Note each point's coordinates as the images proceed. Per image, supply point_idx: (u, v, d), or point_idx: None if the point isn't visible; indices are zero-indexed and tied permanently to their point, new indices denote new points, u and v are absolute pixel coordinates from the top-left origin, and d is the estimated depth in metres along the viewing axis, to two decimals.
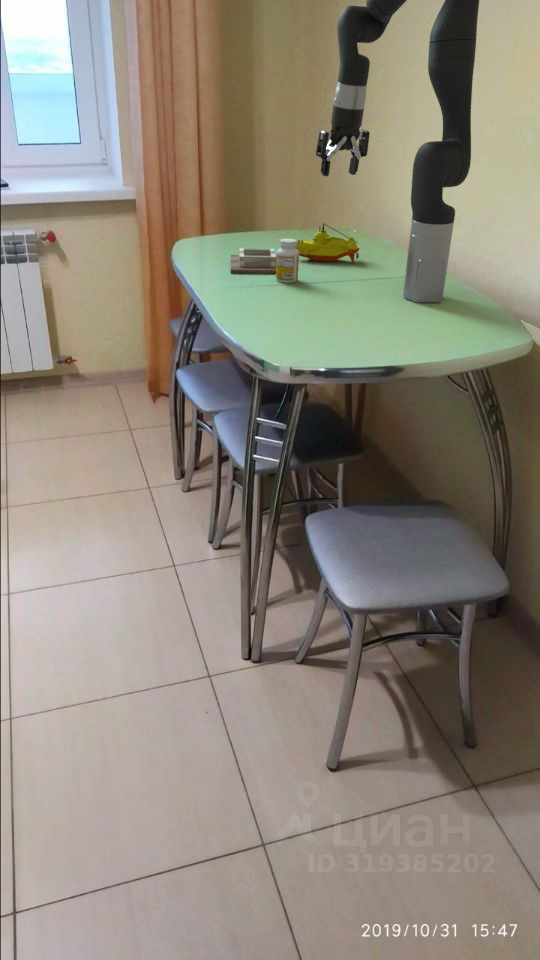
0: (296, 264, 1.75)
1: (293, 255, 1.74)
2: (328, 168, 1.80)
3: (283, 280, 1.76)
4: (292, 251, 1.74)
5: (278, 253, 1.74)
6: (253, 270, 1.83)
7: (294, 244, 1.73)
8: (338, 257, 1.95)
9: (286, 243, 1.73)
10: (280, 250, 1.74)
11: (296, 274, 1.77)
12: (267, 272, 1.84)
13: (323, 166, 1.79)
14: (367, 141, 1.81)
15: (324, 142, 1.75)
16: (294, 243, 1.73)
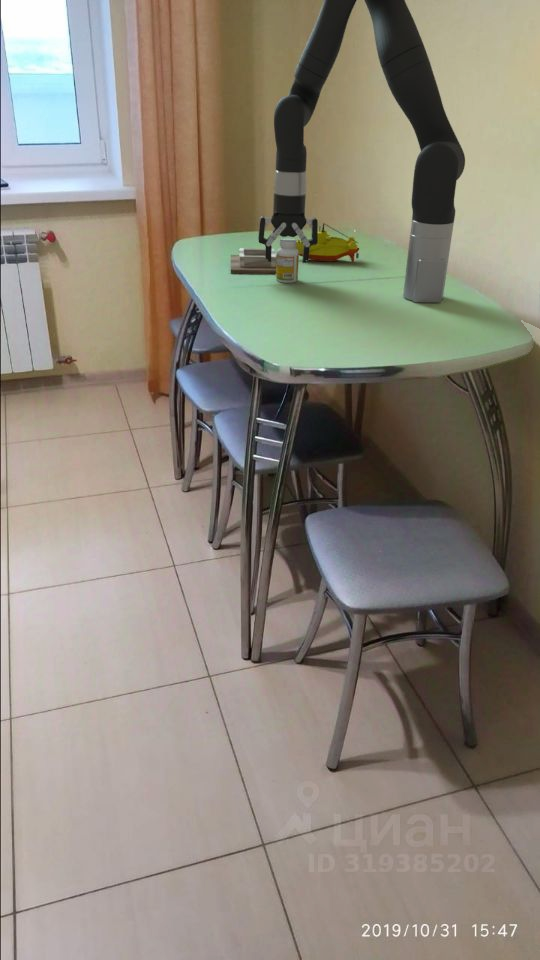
0: (296, 264, 1.75)
1: (293, 255, 1.74)
2: (269, 254, 1.75)
3: (283, 280, 1.76)
4: (292, 251, 1.74)
5: (278, 253, 1.74)
6: (253, 270, 1.83)
7: (294, 244, 1.73)
8: (338, 257, 1.95)
9: (286, 243, 1.73)
10: (280, 250, 1.74)
11: (296, 274, 1.77)
12: (267, 272, 1.84)
13: (265, 251, 1.75)
14: (315, 229, 1.72)
15: (260, 227, 1.71)
16: (294, 243, 1.73)
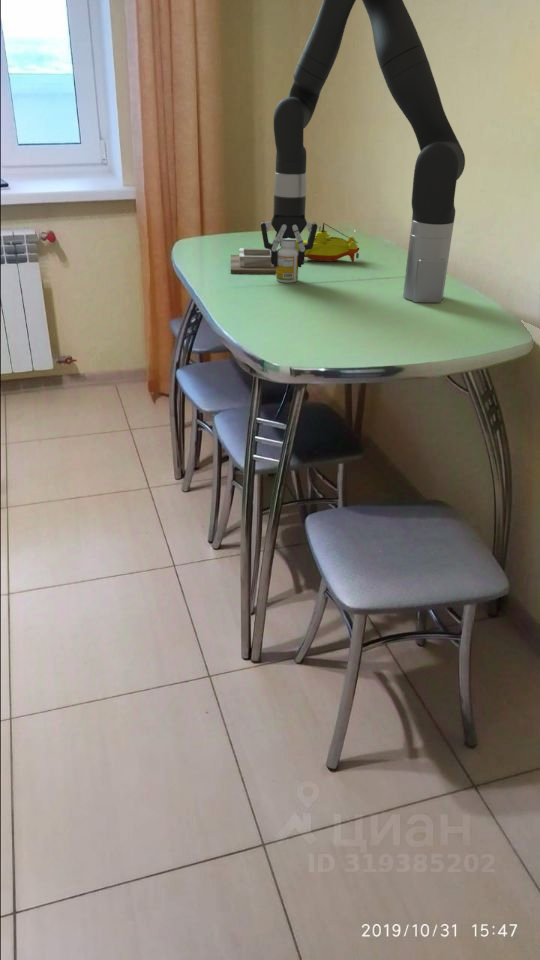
0: (296, 264, 1.75)
1: (293, 255, 1.74)
2: (275, 258, 1.75)
3: (283, 280, 1.76)
4: (292, 251, 1.74)
5: (278, 253, 1.74)
6: (253, 270, 1.83)
7: (294, 244, 1.73)
8: (338, 257, 1.95)
9: (286, 243, 1.73)
10: (280, 250, 1.74)
11: (296, 274, 1.77)
12: (267, 272, 1.84)
13: (271, 256, 1.76)
14: (313, 234, 1.72)
15: (263, 233, 1.72)
16: (294, 243, 1.73)
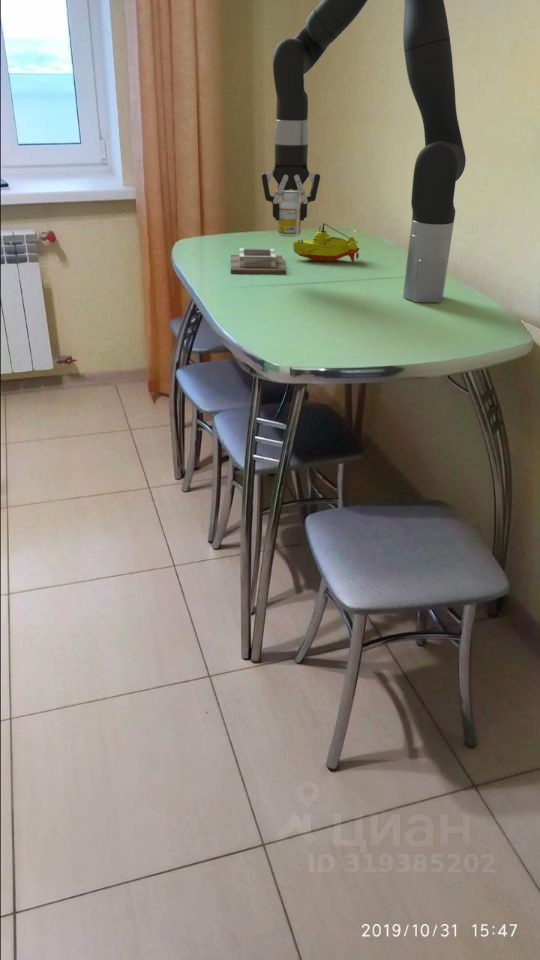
0: (298, 217, 1.70)
1: (295, 207, 1.68)
2: (277, 211, 1.70)
3: (285, 234, 1.71)
4: (294, 203, 1.68)
5: (280, 206, 1.69)
6: (253, 270, 1.83)
7: (296, 196, 1.68)
8: (338, 257, 1.95)
9: (288, 195, 1.67)
10: (282, 202, 1.69)
11: (299, 228, 1.71)
12: (267, 272, 1.84)
13: None
14: (316, 184, 1.67)
15: (264, 184, 1.66)
16: (296, 195, 1.68)
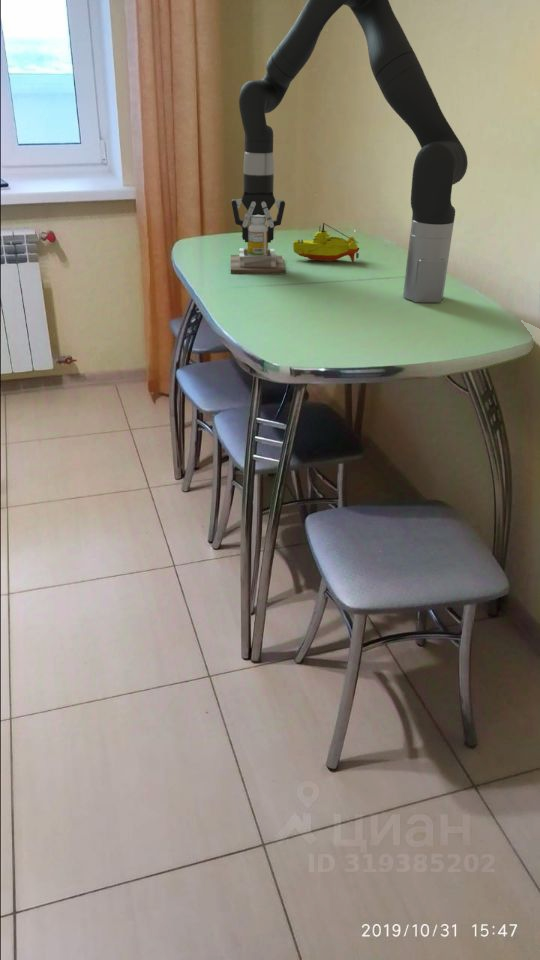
0: (266, 239, 1.86)
1: (262, 230, 1.84)
2: (246, 234, 1.85)
3: (254, 255, 1.87)
4: (261, 227, 1.84)
5: (248, 229, 1.85)
6: (253, 270, 1.83)
7: (263, 220, 1.84)
8: (338, 257, 1.95)
9: (256, 219, 1.83)
10: (250, 226, 1.84)
11: (266, 249, 1.87)
12: (267, 272, 1.84)
13: (242, 232, 1.86)
14: (281, 210, 1.83)
15: (234, 210, 1.82)
16: (263, 219, 1.83)
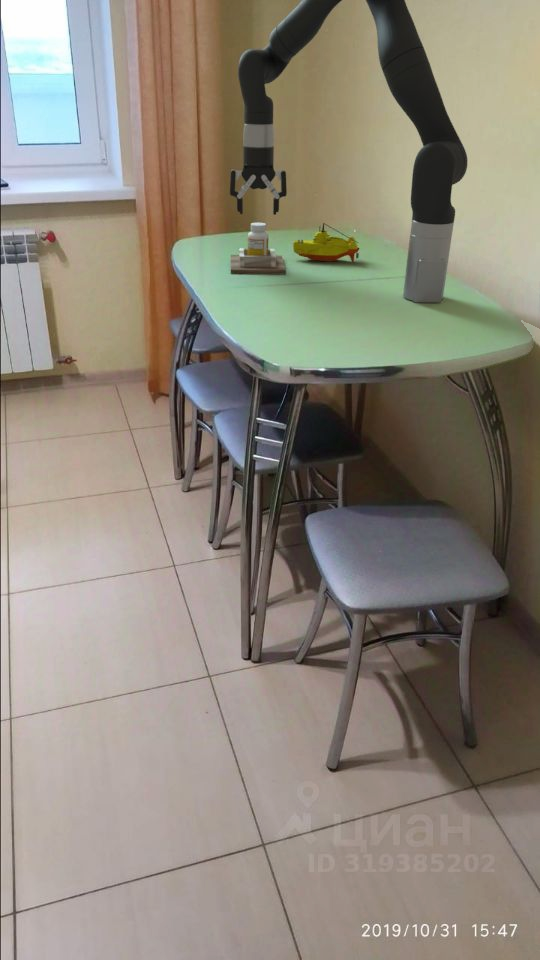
0: (266, 247, 1.87)
1: (262, 238, 1.85)
2: (241, 206, 1.82)
3: None
4: (262, 234, 1.85)
5: (249, 236, 1.85)
6: (253, 270, 1.83)
7: (264, 228, 1.84)
8: (338, 257, 1.95)
9: (256, 227, 1.84)
10: (251, 233, 1.85)
11: None
12: (267, 272, 1.84)
13: (237, 204, 1.82)
14: (284, 181, 1.79)
15: (231, 180, 1.79)
16: (264, 227, 1.84)
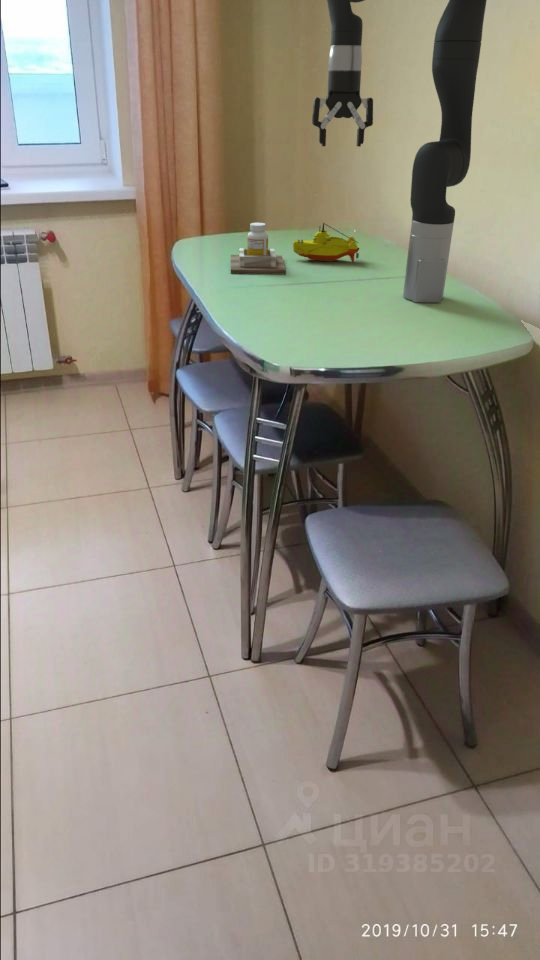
0: (266, 246, 1.87)
1: (262, 237, 1.85)
2: (324, 137, 1.71)
3: None
4: (262, 234, 1.85)
5: (248, 236, 1.85)
6: (253, 270, 1.83)
7: (263, 227, 1.84)
8: (338, 257, 1.95)
9: (256, 227, 1.84)
10: (250, 233, 1.85)
11: None
12: (267, 272, 1.84)
13: (319, 135, 1.72)
14: (371, 108, 1.69)
15: (315, 108, 1.68)
16: (263, 227, 1.84)
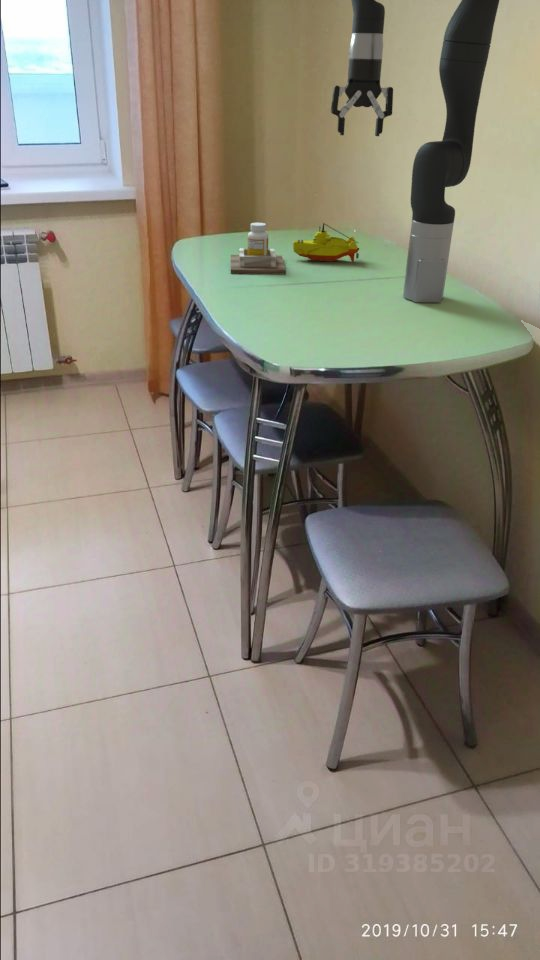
0: (266, 247, 1.87)
1: (262, 238, 1.85)
2: (342, 126, 1.70)
3: None
4: (262, 234, 1.85)
5: (249, 236, 1.85)
6: (253, 270, 1.83)
7: (264, 228, 1.84)
8: (338, 257, 1.95)
9: (256, 227, 1.84)
10: (251, 233, 1.85)
11: None
12: (267, 272, 1.84)
13: (338, 124, 1.71)
14: (390, 98, 1.68)
15: (334, 96, 1.67)
16: (264, 227, 1.84)
